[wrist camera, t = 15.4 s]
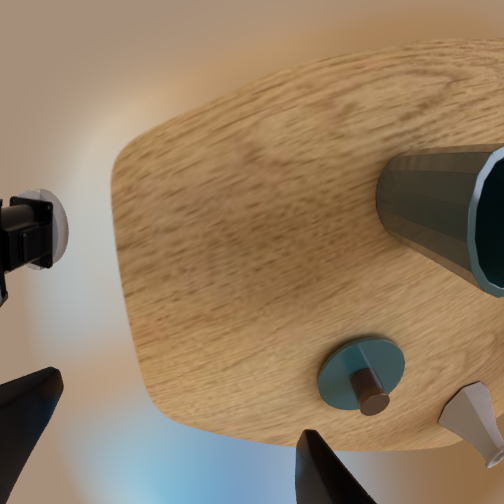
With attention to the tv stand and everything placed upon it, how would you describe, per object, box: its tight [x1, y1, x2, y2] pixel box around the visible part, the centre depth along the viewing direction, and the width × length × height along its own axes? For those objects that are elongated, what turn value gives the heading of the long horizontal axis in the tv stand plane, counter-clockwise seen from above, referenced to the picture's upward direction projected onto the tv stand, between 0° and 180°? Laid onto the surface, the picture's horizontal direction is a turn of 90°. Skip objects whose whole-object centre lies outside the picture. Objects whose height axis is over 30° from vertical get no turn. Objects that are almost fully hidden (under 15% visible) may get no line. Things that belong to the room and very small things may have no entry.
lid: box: [318, 337, 405, 416], centre depth 21 cm, size 8×8×5 cm
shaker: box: [376, 143, 504, 298], centre depth 14 cm, size 7×7×10 cm
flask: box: [438, 382, 504, 468], centre depth 20 cm, size 7×7×10 cm
